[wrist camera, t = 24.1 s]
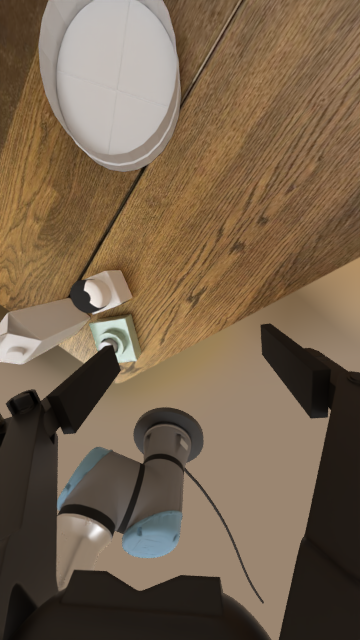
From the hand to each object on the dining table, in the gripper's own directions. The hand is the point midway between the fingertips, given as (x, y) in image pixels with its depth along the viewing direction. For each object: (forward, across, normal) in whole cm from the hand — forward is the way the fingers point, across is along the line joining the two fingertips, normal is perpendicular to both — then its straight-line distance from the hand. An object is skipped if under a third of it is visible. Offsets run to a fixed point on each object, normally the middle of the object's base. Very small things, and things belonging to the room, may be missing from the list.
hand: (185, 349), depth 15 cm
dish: (+27, -7, +38) cm, 47 cm away
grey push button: (+21, -20, -7) cm, 30 cm away
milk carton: (+27, -31, 0) cm, 41 cm away
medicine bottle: (+27, -18, +5) cm, 33 cm away
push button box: (+27, -20, -7) cm, 34 cm away
